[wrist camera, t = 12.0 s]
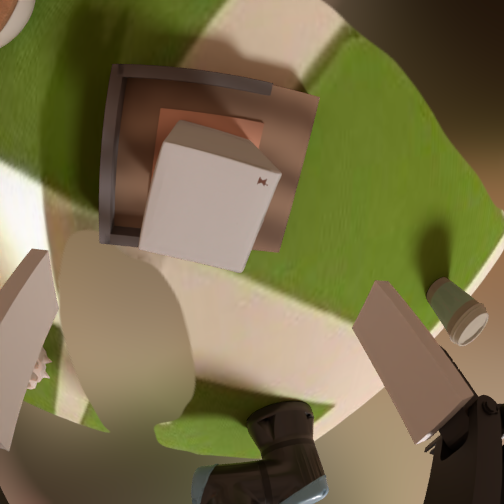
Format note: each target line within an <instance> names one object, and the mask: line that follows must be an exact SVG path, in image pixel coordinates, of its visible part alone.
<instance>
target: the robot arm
mask: <svg viewBox="0 0 504 504" xmlns="http://www.w3.org/2000/svg"><path fill="white" fill-rule="evenodd" d="M58 310H59V307H58V303H57V298H56V293H55V288H54V283H53V277H52V271H51V265H50V259H49V252H48V250H39V249H31V250H30V252H29V253H28V254H27V255H26V257H25V258H24V259H23V260H22V262H21V263H20V264H19V266H18V267H17V268H16V270H15V271H14V272H13V274H12V275H11V276H10V278H9V279H8V280H7V282H6V283H5V285H4V286H3V287H2V289H1V290H0V448H2V449H5V450H7V451H9V450H10V445H11V441H12V437H13V433H14V429H15V425H16V422H17V418H18V415H19V411H20V408H21V405H22V401H23V398H24V395H25V392H26V389H27V386H28V383H29V380H30V377H31V375H32V372H33V369H34V366H35V364H36V361H37V359H38V356H39V353H40V351H41V348H42V346H43V344H44V341H45V339H46V336H47V334H48V332H49V329H50V327H51V325H52V323H53V320H54V318H55V316H56V314H57V312H58ZM352 329H353V331H354V332H355V334H356V336H357V337H358V339H359V341H360V343H361V344H362V346H363V348H364V350H365V352H366V353H367V355H368V357H369V359H370V360H371V362H372V364H373V366H374V368H375V369H376V371H377V373H378V375H379V377H380V379H381V380H382V382H383V384H384V386H385V388H386V390H387V391H388V393H389V395H390V397H391V399H392V401H393V403H394V405H395V406H396V408H397V410H398V412H399V414H400V416H401V418H402V420H403V422H404V424H405V426H406V428H407V430H408V432H409V434H410V436H411V437H412V440H413V441H414V444H418V443H421V442H423V441H426V440H428V439H429V438H431V437H432V436H433V435H434V434H435V433H436V432H437V431H438V430H439V432H440V434H441V435H440V436H439V437H437V438H436V439H435V440H434V441H433V442H431V443H430V444H429V445H428V446H427V447H426V448H425V451H424V452H427V451H428V450H430V449H431V448H432V447H433V446H435V448H434V449H432V450H431V452H430V454H433V455H434V456H433V462H432V468H431V473H430V478H429V483H428V487H427V492H426V496H425V500H424V504H504V445H503V446H502V439H503V438H504V404H497V403H496V402H495V401H494V400H493V399H492V398H491V397H489V396H486V395H481V396H480V397H478V395H477V394H476V393H475V391H474V390H473V388H472V387H471V385H470V384H469V382H468V381H467V380H466V378H465V377H464V375H463V374H462V372H461V371H460V370H459V369H458V367H457V365H456V364H455V363H454V362H453V360H452V358H451V357H450V356H449V354H448V353H447V352H446V350H444V349H443V348H442V347H441V346H440V345H439V344H438V343H437V342H436V340H435V339H434V338H433V336H432V335H431V334H430V332H429V331H428V330H427V329H426V327H425V326H424V325H423V323H422V322H421V321H420V320H419V318H418V317H417V316H416V314H415V313H414V312H413V311H412V309H411V308H410V307H409V306H408V305H407V303H406V302H405V301H404V300H403V298H402V297H401V296H400V295H399V294H398V292H397V291H396V290H395V289H394V288H393V286H392V285H391V284H390V283H389V282H388V281H376V280H375V282H374V284H373V286H372V289H371V291H370V293H369V295H368V297H367V299H366V301H365V303H364V305H363V307H362V309H361V311H360V313H359V315H358V317H357V319H356V321H355V323H354V325H353V327H352ZM313 423H314V416H313V412H312V409H311V407H310V406H309V405H308V404H306V403H303V402H297V401H290V402H282V403H277V404H273V405H270V406H267V407H264V408H262V409H260V410H258V411H256V412H255V413H253V414H252V415H251V416H250V417H249V418H248V420H247V428H248V432H249V434H250V436H251V437H252V439H253V441H254V442H255V444H256V445H257V447H258V448H259V450H260V452H261V456H262V460H259V461H251V462H243V463H233V464H222V465H219V464H215V465H211V466H202V467H199V468H198V469H197V470H196V471H195V473H194V476H193V481H192V492H191V494H192V504H313V503H315V502H317V501H319V500H321V499H323V498H324V497H325V496H326V495H327V494H328V491H329V488H328V484H327V481H326V475H325V474H324V470H323V467H322V465H321V462H320V458H319V456H318V453H317V450H316V447H315V444H314V440H313ZM0 504H9V503H8V501H7V499H6V497H5V495H4V493H3V491H2V489H1V487H0Z"/></svg>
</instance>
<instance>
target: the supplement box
mask: <svg viewBox="0 0 504 504" xmlns="http://www.w3.org/2000/svg"><path fill="white" fill-rule="evenodd" d="M281 175H282V173H281V172H280V170H279V169H278V168H277V167H276V166H275V165H274V164H273V163H272V162H271V161H270V160H269V159H268V158H267V157H266V156H265V155H264V154H263V153H262V152H261V151H260V150H259V149H258V148H257V147H256V146H255V145H254V144H253V143H252V142H251V141H250V140H248V139H245V138H242V137H239V136H236V135H233V134H230V133H227V132H223V131H220V130H217V129H214V128H210V127H206V126H203V125H199V124H196V123H192V122H188V121H184V120H179V121H178V122H177V124H176V125H175V126H174V128H173V129H172V131H171V132H170V133H169V135H168V136H167V137H166V139H165V140H164V141H163V143H162V146H161V149H160V152H159V155H158V159H157V162H156V166H155V169H154V173H153V177H152V181H151V185H150V189H149V193H148V198H147V202H146V207H145V212H144V217H143V222H142V227H141V233H140V239H139V246H138V249H139V250H144V251H148V252H152V253H157V254H161V255H166V256H170V257H175V258H179V259H183V260H188V261H193V262H197V263H201V264H205V265H209V266H213V267H217V268H221V269H226V270H230V271H234V272H238V273H241V272H242V271H243V270H244V268H245V265H246V262H247V260H248V257H249V255H250V252H251V250H252V247H253V245H254V242H255V240H256V237H257V234H258V232H259V230H260V228H261V225H262V223H263V221H264V217H265V214H266V212H267V209H268V207H269V204H270V202H271V199H272V197H273V194H274V192H275V189H276V187H277V184H278V182H279V180H280V178H281Z"/></svg>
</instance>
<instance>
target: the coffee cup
mask: <svg viewBox="0 0 504 504" xmlns="http://www.w3.org/2000/svg"><path fill="white" fill-rule="evenodd" d="M426 298H427V301H428V302H429V304H430V305H431V307H432V308H433V310H434V311H435V313H436V315H437V316H438V318H439V319H440V321H441V323H442V324H443V326H444V327H445V329H446V330H447V332H448V334H449V335H450V340H451V341H452V342H453V343H455V344H457V345H459V346H465V345H467V344H469V343H470V342H472V341H473V340H474V339H475V338H476V337H477V336H478V335H479V334H480V333H481V332H482V330H483V329H484V327H485V325H486V324H487V321H488V313H487V311H486V308H485V307H484V305H483V304H482V303H479V302H477V301H476V300H475V299H474V298H472V297H471V296H470V295H468V294H467V293H466V292H465V291H463V290H462V289H461V288H459V287H458V286H457V285H456V284H454V283H453V282H452V281H450V280H449V279H447V278H446V277H442V278H439V279H438V280H436V281H435V282H434V283H433V284H432V285H431V287H430V288H429V290H428V292H427V296H426Z"/></svg>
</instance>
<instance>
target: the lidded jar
mask: <svg viewBox="0 0 504 504" xmlns="http://www.w3.org/2000/svg"><path fill="white" fill-rule="evenodd" d="M34 6H35V0H0V48H1V47H3V46H5V45H6V44H8V43H9V42H10V41H12V40H13V39H14V38H15V37H16V36H17V35H18V34H19V33H20V32H21V31H22V29H23V28H24V27H25V25H26V24H27V22H28V21H29V19H30V17H31V14H32V12H33V9H34Z"/></svg>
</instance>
